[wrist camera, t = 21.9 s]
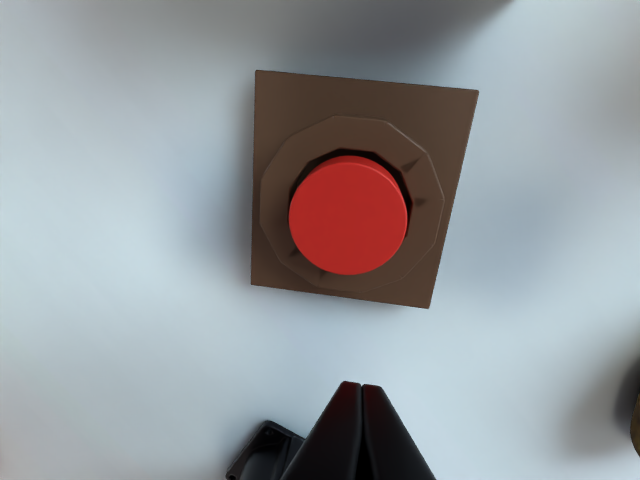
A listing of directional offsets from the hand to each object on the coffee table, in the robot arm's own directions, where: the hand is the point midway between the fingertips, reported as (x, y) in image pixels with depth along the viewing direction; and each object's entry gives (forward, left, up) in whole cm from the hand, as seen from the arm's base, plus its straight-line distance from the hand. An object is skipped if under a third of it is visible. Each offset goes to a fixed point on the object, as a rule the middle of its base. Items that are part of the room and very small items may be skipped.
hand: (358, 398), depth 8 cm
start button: (+1, +1, -8) cm, 9 cm away
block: (+1, +1, -12) cm, 12 cm away
